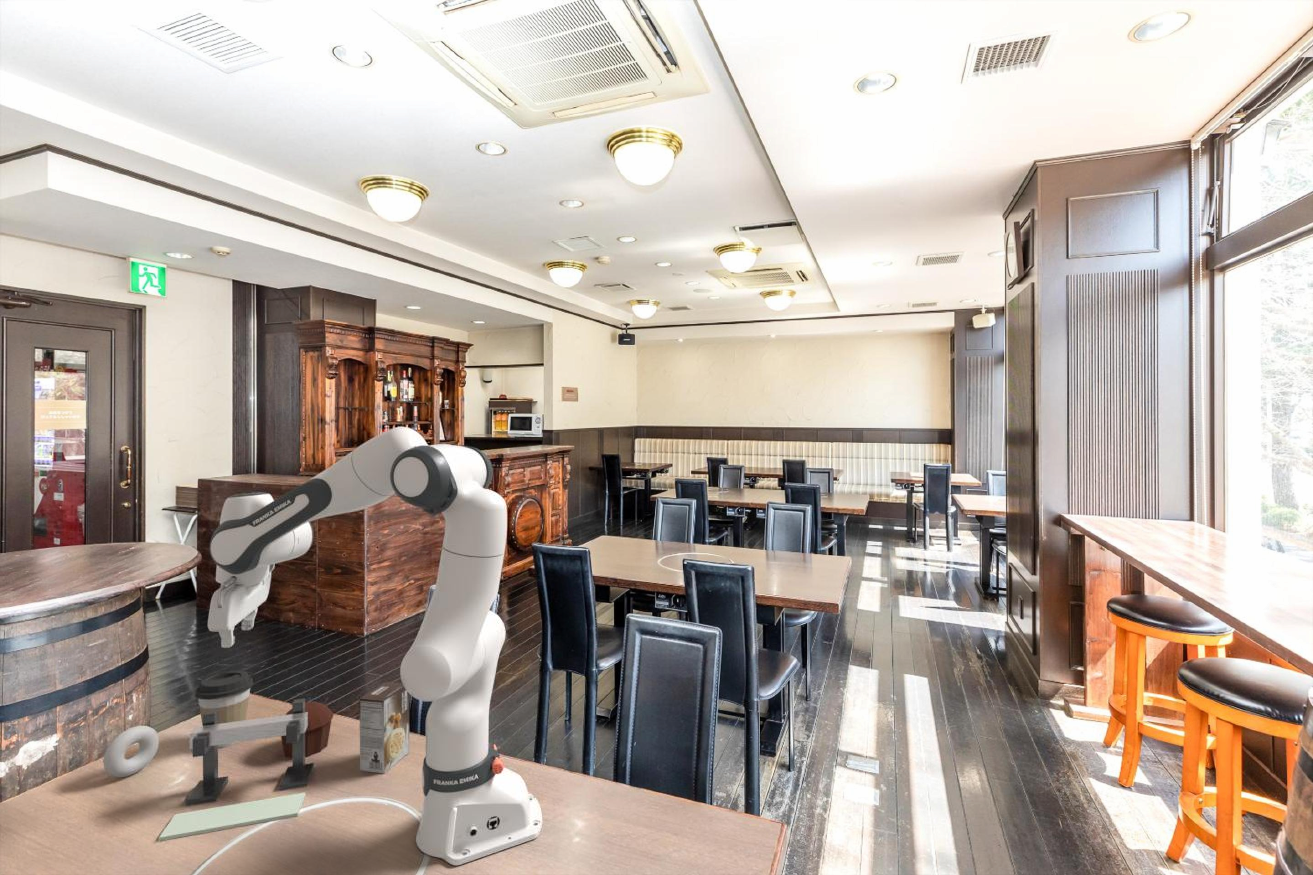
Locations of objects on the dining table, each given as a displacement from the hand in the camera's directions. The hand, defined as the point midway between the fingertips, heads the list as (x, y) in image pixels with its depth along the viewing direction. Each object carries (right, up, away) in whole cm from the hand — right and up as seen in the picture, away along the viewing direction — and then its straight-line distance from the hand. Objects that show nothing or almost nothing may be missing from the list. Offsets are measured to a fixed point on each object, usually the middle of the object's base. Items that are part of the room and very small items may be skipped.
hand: (237, 637), depth 123 cm
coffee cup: (-17, -32, +20) cm, 41 cm away
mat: (+5, -32, -8) cm, 33 cm away
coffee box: (+25, -32, +12) cm, 42 cm away
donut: (-27, -32, +6) cm, 42 cm away
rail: (+2, -21, 0) cm, 21 cm away
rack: (+2, -32, +1) cm, 32 cm away
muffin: (+4, -32, +17) cm, 36 cm away
